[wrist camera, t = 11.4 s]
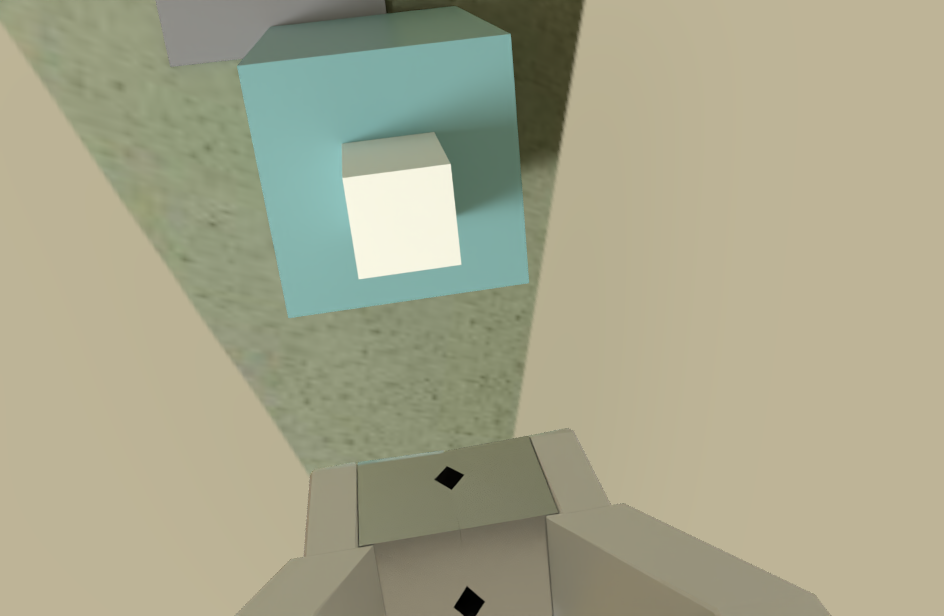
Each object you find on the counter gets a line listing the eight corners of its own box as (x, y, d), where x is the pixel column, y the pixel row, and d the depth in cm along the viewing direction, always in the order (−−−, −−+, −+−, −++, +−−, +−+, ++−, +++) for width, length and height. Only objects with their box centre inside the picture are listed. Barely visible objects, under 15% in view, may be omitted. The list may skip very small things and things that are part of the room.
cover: (270, 26, 38) (218, 88, 22) (455, 5, 39) (541, 49, 22) (303, 206, 41) (280, 377, 25) (472, 184, 42) (558, 334, 26)
